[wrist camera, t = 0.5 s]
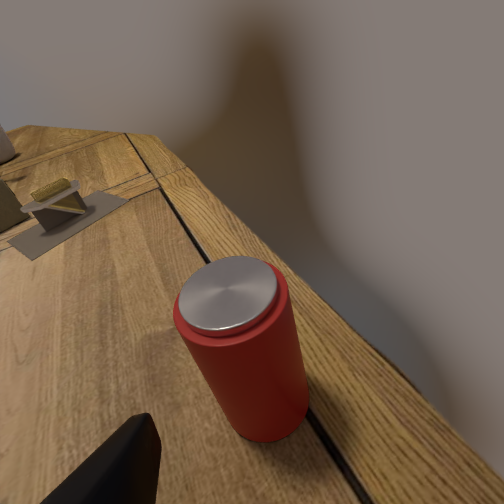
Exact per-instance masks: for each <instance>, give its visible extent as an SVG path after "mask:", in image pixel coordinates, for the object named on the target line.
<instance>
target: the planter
mask: <svg viewBox="0 0 504 504" xmlns="http://www.w3.org/2000/svg"><path fill="white" fill-rule="evenodd" d="M14 155H15V149H14V146H13V145H12V143H11V141H10V139H9V138H8V136H7V134H6V133H5V131H4V130H3V128H2V127H1V125H0V164H2V163H4V162H6V161H8V160H10V159H12V158H13V157H14Z"/></svg>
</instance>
